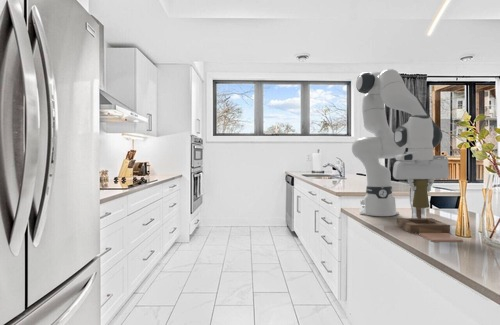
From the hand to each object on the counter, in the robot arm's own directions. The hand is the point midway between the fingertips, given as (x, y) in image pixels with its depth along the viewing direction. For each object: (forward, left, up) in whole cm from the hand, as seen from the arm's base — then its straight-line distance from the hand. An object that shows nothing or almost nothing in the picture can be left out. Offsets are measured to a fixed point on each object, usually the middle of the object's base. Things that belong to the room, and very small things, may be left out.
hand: (420, 190), depth 126 cm
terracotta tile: (+14, 0, -15) cm, 21 cm away
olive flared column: (0, 0, -7) cm, 7 cm away
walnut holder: (0, 0, -15) cm, 15 cm away
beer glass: (-15, +5, -15) cm, 22 cm away
